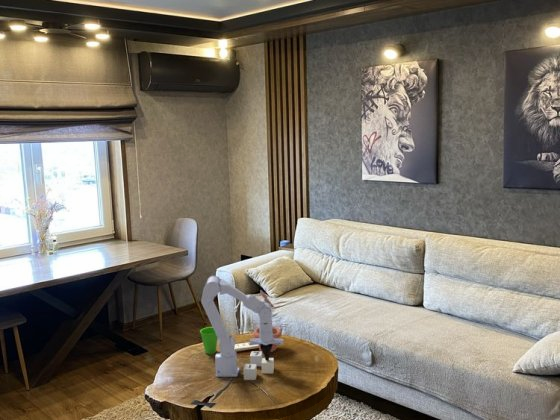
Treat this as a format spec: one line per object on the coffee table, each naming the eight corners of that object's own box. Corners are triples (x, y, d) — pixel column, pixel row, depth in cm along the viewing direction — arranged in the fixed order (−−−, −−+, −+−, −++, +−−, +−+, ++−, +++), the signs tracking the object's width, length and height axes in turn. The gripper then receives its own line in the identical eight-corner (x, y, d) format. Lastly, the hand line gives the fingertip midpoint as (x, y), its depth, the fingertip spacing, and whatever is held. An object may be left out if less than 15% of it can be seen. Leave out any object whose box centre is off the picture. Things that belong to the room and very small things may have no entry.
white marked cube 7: (250, 366, 258) (249, 355, 257) (251, 361, 263) (251, 351, 262) (261, 366, 257) (260, 355, 256) (262, 361, 262) (262, 351, 261)
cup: (199, 349, 278) (198, 328, 276) (218, 346, 280) (216, 325, 278) (203, 357, 269) (201, 335, 267) (221, 353, 272) (220, 332, 270)
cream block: (261, 373, 250) (261, 362, 249) (263, 368, 255) (262, 358, 254) (273, 373, 250) (272, 362, 249) (274, 368, 255) (273, 358, 254)
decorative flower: (286, 353, 269) (284, 293, 263) (258, 358, 265) (255, 297, 260) (278, 341, 283) (275, 284, 278) (251, 346, 280) (248, 287, 274)
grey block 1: (244, 380, 245) (243, 368, 244) (245, 374, 250) (245, 363, 249) (255, 380, 245) (254, 368, 244) (257, 374, 249) (256, 363, 249)
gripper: (248, 334, 246) (249, 363, 248) (281, 334, 245) (282, 363, 247) (250, 327, 253) (252, 356, 255) (282, 327, 251) (284, 356, 254)
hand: (267, 359), depth 251 cm, fingers closed
